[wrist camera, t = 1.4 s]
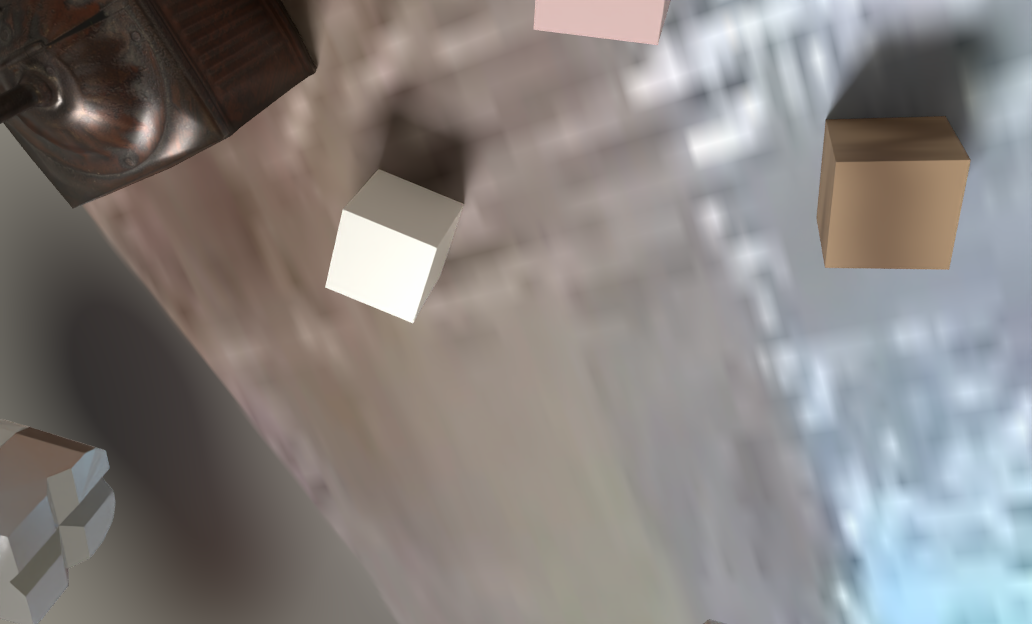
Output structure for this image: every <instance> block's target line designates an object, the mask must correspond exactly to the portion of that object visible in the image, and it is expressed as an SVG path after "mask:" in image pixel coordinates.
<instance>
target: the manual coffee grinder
mask: <svg viewBox="0 0 1032 624" xmlns="http://www.w3.org/2000/svg"><path fill="white" fill-rule="evenodd" d="M315 72H316V68H315V66H314V64H313V62H312V60H311V58H310V56H309V54H308V51H307V49H306V47H305V45H304V43H303V41H302V39H301V37H300V34H299V32H298V31H297V29H296V27H295V25H294V23H293V22H292V20H291V18H290V16H289V15H288V13H287V11H286V9H285V7H284V6H283V4H282V2H281V0H0V124H1V123H4V124H5V126H6V127H7V128H8V129H9V130H10V132H11V133H12V134H13V136H14V137H15V138H16V140H17V141H18V142H19V143H20V144H21V146H22V147H23V149H24V150H25V151H26V152H27V154H28V155H29V156H30V157H31V159H32V160H33V161H34V162H35V163H36V165H37V166H38V167H39V168H40V169H41V171H42V172H43V173H44V174H45V175H46V177H47V178H48V179H49V180H50V181H51V182H52V184H53V185H54V186H55V187H56V189H57V190H58V191H59V192H60V193H61V195H62V196H63V197H64V198H65V200H66V201H67V202H68V203H69V204H70V206H71V207H72V208H76V207H78V206H81V205H83V204H86V203H88V202H91V201H93V200H96V199H98V198H101V197H103V196H106V195H108V194H110V193H113V192H115V191H117V190H120V189H122V188H124V187H127V186H129V185H131V184H134V183H136V182H138V181H141V180H143V179H145V178H148V177H150V176H152V175H155V174H157V173H160V172H162V171H164V170H167V169H169V168H171V167H173V166H175V165H177V164H179V163H181V162H182V161H184V160H186V159H188V158H190V157H192V156H194V155H196V154H198V153H199V152H201V151H203V150H205V149H207V148H209V147H211V146H213V145H214V144H216V143H218V142H220V141H222V140H224V139H226V138H228V137H230V136H231V135H232V134H234V133H235V132H236V131H237V130H238V129H239V128H240V127H241V126H243V125H244V124H245V123H247V122H248V121H249V120H251V119H252V118H253V117H255V116H256V115H257V114H259V113H260V112H261V111H263V110H264V109H265V108H267V107H268V106H269V105H270V104H272V103H273V102H274V101H276V100H277V99H278V98H280V97H281V96H282V95H284V94H285V93H286V92H287V91H289V90H290V89H291V88H293V87H294V86H296V85H297V84H298V83H300V82H301V81H303V80H304V79H306V78H307V77H308V76H310V75H312V74H314V73H315Z"/></svg>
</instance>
